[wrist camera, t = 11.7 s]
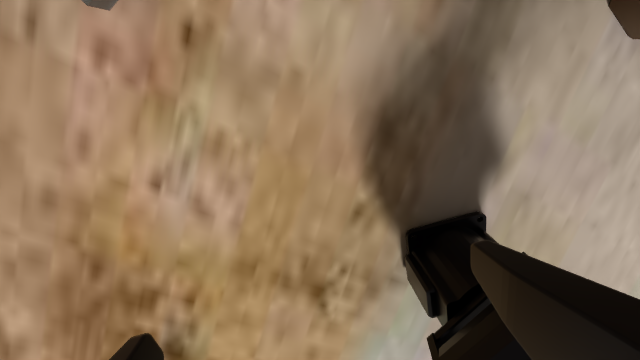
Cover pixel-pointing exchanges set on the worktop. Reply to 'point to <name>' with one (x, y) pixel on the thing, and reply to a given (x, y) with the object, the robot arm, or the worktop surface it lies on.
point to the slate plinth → (100, 3)
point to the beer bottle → (627, 15)
